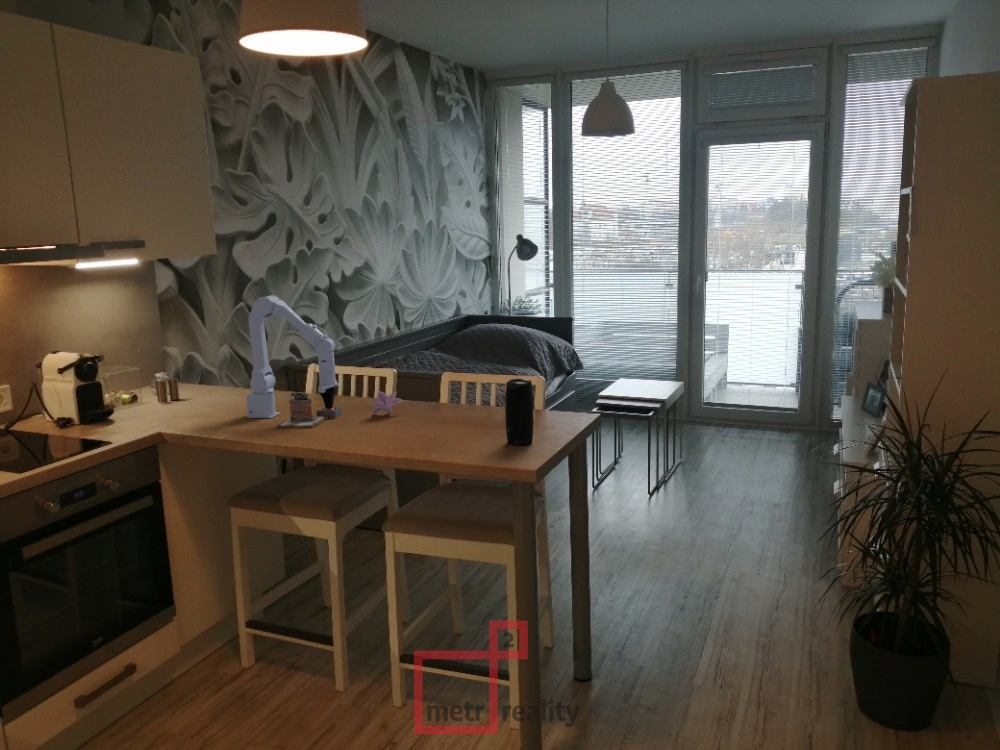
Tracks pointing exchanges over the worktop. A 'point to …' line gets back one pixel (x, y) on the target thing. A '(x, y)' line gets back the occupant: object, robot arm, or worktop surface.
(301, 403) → the lighter
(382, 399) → the lily
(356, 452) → the worktop surface
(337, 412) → the button housing
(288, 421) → the board
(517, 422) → the portable speaker
